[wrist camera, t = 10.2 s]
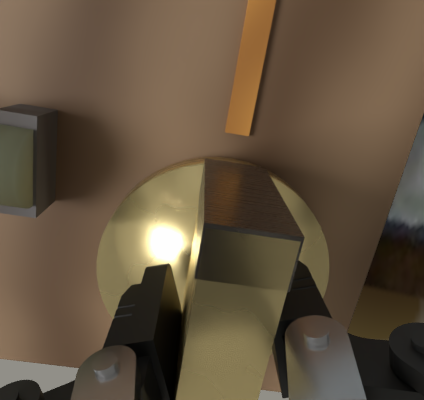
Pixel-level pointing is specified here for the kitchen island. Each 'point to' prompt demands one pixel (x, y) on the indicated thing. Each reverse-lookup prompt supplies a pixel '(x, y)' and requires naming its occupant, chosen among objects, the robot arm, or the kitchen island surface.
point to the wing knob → (215, 264)
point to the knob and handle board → (190, 134)
